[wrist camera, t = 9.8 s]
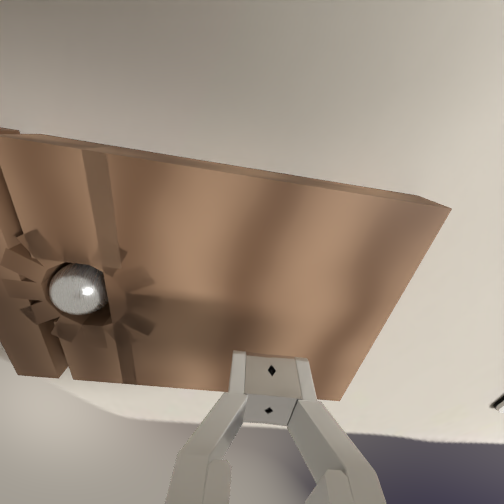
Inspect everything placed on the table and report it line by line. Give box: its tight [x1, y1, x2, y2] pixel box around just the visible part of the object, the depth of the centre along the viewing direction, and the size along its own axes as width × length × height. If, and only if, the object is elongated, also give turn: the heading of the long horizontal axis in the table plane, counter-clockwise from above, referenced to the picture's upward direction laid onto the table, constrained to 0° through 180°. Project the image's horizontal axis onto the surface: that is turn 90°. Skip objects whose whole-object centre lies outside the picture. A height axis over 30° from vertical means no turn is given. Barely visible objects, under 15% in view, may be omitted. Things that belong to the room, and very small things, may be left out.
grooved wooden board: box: [0, 128, 451, 401], centre depth 15 cm, size 24×16×2 cm, turn 81°
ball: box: [49, 263, 108, 315], centre depth 14 cm, size 3×3×3 cm
